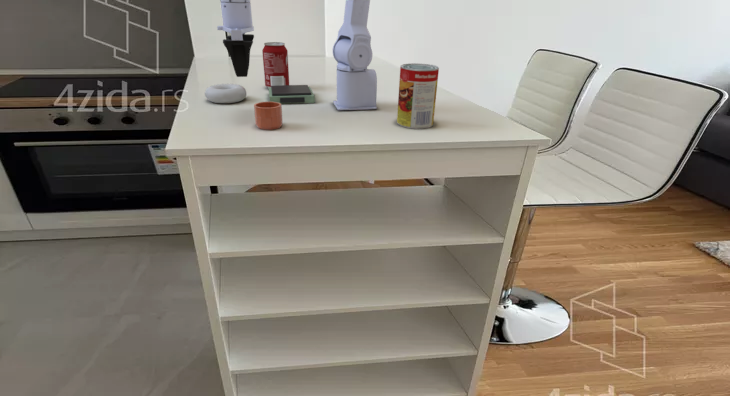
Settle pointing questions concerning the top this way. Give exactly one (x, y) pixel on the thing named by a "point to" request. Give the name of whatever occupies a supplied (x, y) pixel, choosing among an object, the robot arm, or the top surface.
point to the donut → (225, 93)
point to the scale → (291, 94)
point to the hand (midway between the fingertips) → (242, 73)
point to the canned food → (417, 95)
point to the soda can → (275, 64)
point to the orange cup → (268, 115)
